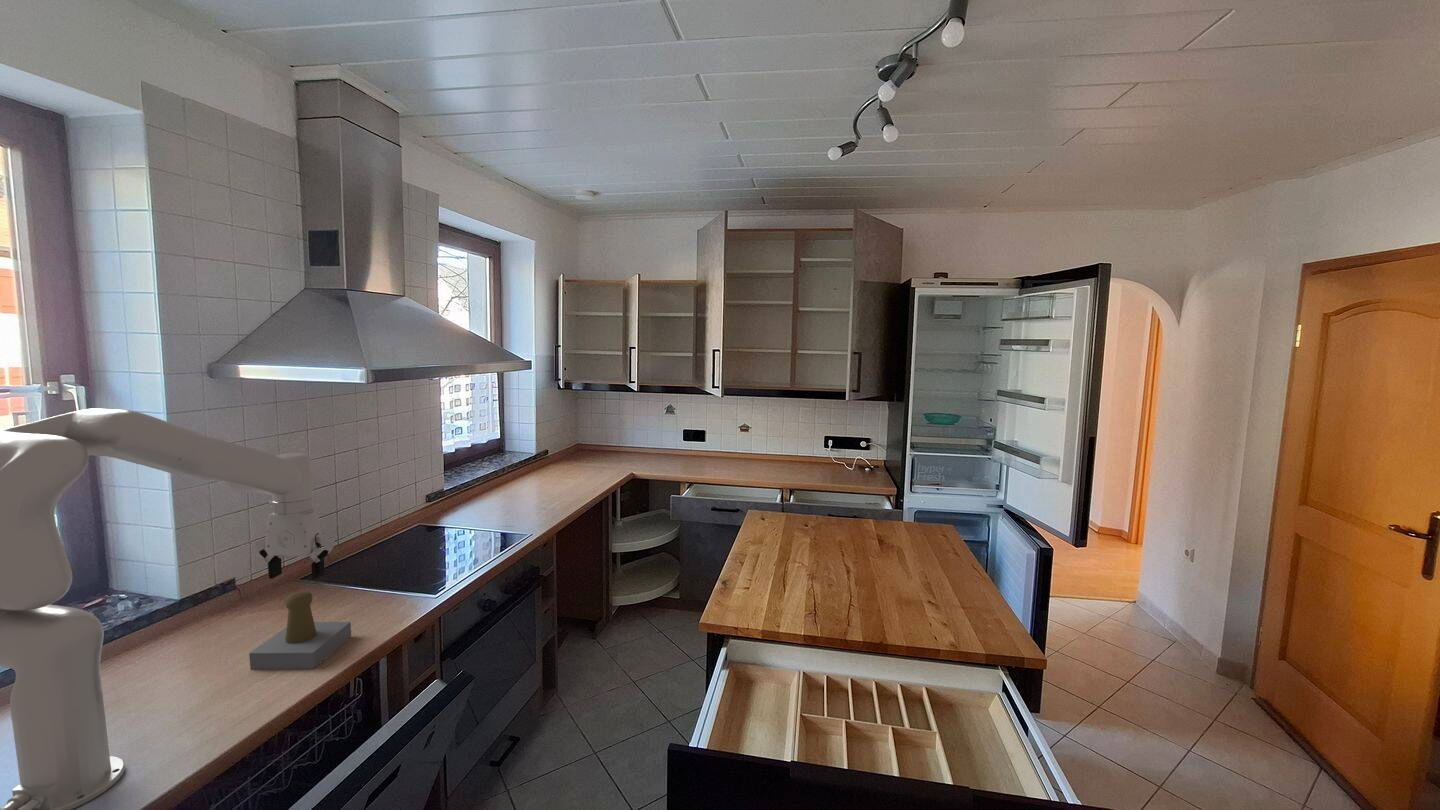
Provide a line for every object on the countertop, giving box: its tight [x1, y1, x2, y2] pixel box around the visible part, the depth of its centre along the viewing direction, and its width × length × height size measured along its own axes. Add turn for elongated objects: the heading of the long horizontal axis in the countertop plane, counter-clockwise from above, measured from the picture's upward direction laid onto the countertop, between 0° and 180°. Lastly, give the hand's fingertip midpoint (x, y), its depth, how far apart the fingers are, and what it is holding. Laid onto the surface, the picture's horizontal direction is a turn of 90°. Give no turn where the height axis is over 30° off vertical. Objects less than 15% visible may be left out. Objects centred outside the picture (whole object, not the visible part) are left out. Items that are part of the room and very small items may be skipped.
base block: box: [248, 621, 352, 671], centre depth 133 cm, size 14×14×4 cm
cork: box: [284, 590, 317, 644], centre depth 132 cm, size 6×6×11 cm
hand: (296, 576), depth 130 cm, fingers open, 9 cm apart
